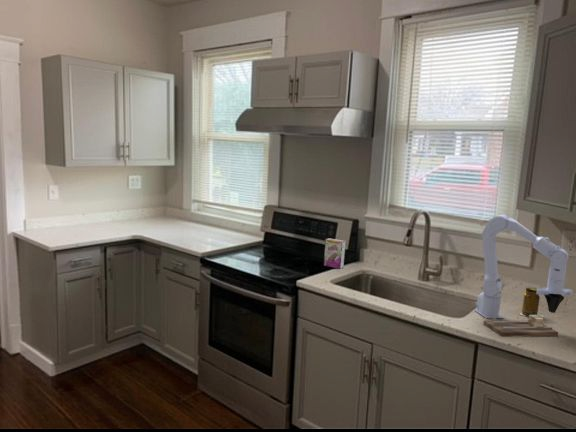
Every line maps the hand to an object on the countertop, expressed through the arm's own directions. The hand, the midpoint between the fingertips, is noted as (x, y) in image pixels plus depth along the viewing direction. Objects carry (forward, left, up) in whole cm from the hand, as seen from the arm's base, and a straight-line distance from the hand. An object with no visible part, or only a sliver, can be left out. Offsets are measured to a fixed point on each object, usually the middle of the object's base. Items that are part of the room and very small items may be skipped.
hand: (551, 311), depth 176 cm
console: (0, -13, -8) cm, 15 cm away
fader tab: (0, -7, -6) cm, 9 cm away
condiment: (-16, +4, -8) cm, 18 cm away
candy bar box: (-94, -67, -8) cm, 116 cm away
